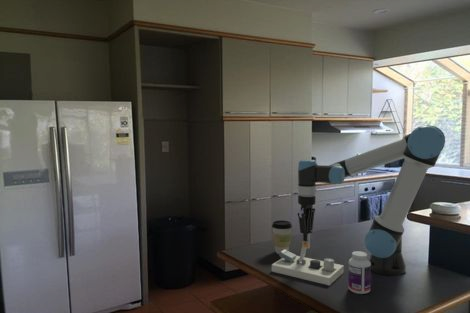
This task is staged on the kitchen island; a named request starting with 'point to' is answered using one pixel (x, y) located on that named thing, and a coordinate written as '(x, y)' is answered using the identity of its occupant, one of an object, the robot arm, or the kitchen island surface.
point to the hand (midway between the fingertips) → (306, 247)
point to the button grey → (328, 265)
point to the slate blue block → (287, 255)
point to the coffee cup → (281, 235)
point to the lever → (303, 252)
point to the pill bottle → (359, 273)
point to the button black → (315, 264)
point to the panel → (307, 270)
